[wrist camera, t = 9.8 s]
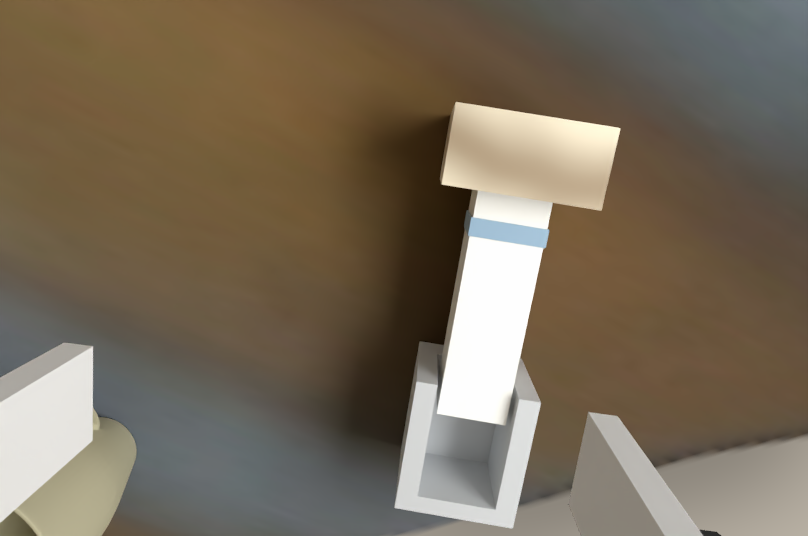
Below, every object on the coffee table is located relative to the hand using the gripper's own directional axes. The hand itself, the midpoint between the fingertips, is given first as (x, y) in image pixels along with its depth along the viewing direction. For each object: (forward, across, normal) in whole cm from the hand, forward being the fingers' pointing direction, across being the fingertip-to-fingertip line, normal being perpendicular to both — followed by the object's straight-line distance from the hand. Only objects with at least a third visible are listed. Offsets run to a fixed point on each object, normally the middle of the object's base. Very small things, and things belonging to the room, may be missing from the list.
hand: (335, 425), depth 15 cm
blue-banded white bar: (+20, +6, 0) cm, 21 cm away
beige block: (+23, +7, +7) cm, 25 cm away
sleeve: (+22, +6, -10) cm, 25 cm away
